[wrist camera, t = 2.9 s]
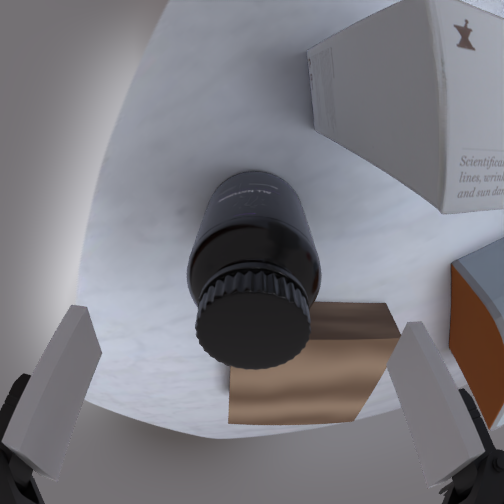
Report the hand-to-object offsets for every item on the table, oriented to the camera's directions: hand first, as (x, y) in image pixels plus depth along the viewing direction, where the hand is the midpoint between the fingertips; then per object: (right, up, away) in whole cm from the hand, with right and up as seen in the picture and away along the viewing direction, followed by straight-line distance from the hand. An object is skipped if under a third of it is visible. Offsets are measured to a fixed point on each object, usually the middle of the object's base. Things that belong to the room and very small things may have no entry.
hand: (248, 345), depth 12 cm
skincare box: (+8, +15, +6) cm, 18 cm away
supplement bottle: (0, +6, +11) cm, 13 cm away
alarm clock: (+25, -2, +16) cm, 30 cm away
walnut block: (+5, -6, +19) cm, 21 cm away
